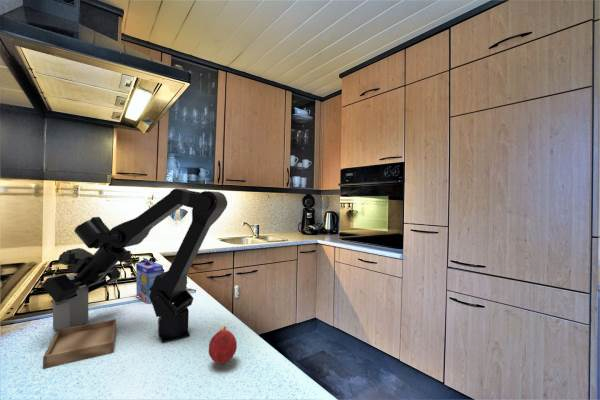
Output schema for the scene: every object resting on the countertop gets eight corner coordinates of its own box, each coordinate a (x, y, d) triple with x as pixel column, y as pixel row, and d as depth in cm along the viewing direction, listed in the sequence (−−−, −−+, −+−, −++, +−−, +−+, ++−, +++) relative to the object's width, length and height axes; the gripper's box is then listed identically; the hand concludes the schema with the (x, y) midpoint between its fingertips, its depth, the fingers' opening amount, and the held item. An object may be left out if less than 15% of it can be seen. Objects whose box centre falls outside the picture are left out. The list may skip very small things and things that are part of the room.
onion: (237, 370, 57) (237, 331, 57) (207, 374, 56) (208, 334, 56) (235, 354, 63) (236, 319, 63) (208, 358, 61) (209, 322, 61)
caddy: (88, 321, 78) (88, 274, 78) (69, 330, 72) (69, 280, 72) (72, 319, 79) (72, 274, 79) (52, 329, 73) (52, 279, 73)
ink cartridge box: (134, 297, 98) (135, 256, 98) (151, 293, 102) (151, 254, 102) (146, 304, 92) (147, 260, 92) (163, 300, 96) (164, 258, 96)
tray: (116, 327, 75) (116, 318, 75) (113, 352, 63) (113, 341, 63) (57, 339, 69) (58, 329, 69) (42, 368, 57) (43, 357, 57)
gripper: (112, 234, 84) (79, 269, 86) (48, 244, 66) (8, 289, 67) (135, 261, 83) (102, 296, 85) (78, 279, 65) (37, 323, 66)
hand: (66, 299), depth 76 cm, fingers closed on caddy, 5 cm apart
